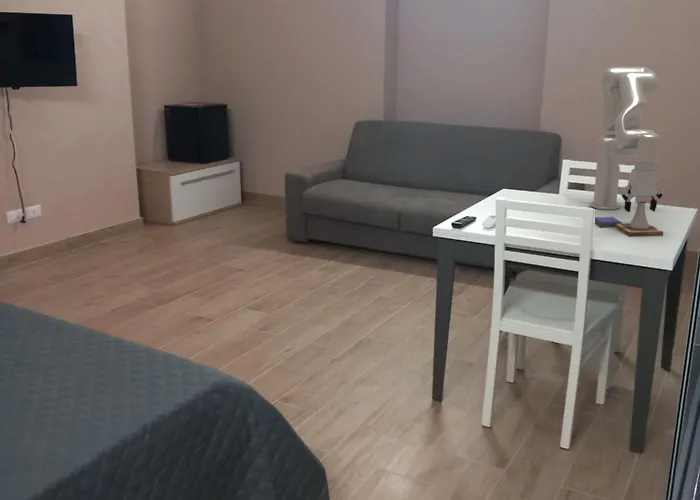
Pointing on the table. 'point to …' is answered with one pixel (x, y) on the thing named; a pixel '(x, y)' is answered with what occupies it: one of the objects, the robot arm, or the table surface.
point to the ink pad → (606, 222)
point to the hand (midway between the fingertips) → (639, 210)
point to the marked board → (638, 230)
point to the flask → (639, 217)
